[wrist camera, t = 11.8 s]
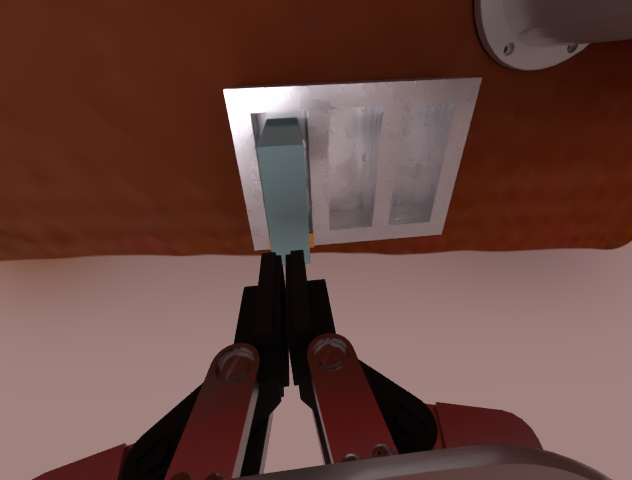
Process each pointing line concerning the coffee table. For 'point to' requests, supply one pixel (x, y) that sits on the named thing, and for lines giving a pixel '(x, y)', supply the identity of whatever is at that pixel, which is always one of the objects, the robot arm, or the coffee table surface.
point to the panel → (284, 186)
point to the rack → (360, 152)
